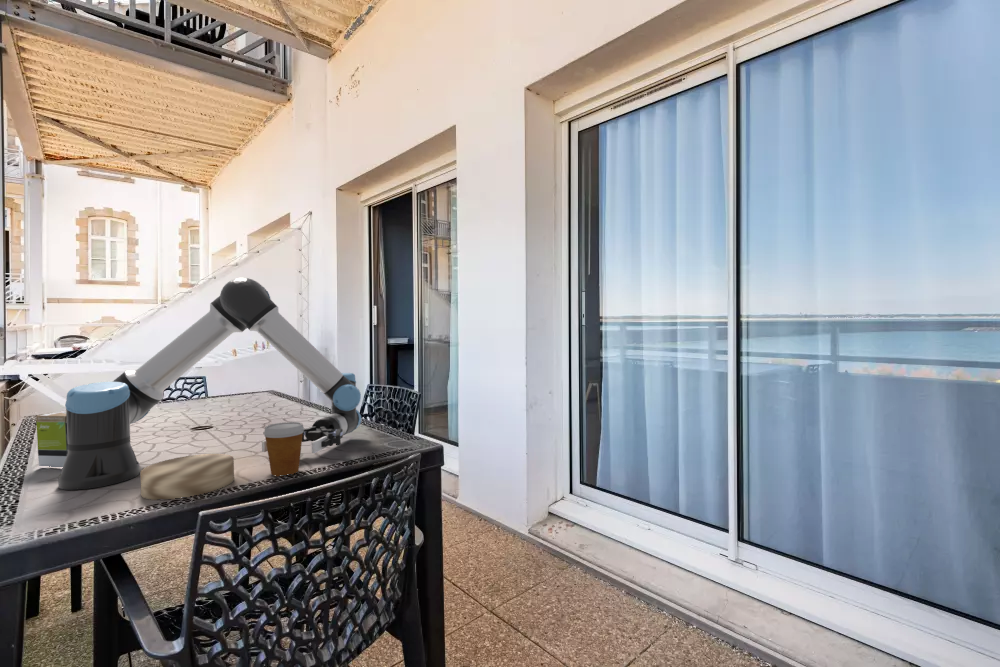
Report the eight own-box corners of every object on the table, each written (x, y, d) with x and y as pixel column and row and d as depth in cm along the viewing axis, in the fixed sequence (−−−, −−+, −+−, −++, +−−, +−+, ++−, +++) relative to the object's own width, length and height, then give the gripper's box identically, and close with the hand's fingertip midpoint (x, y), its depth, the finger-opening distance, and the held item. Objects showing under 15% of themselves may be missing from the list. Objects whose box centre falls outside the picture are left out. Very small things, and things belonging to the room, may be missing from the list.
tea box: (94, 453, 138) (93, 404, 138) (123, 454, 136) (121, 405, 136) (36, 469, 123) (34, 414, 123) (67, 470, 121) (65, 414, 121)
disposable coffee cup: (295, 478, 111) (294, 429, 111) (256, 479, 111) (255, 429, 111) (311, 466, 121) (310, 421, 121) (276, 467, 121) (275, 421, 121)
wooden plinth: (119, 498, 100) (118, 475, 100) (186, 472, 118) (185, 453, 118) (194, 501, 97) (193, 477, 97) (250, 474, 115) (250, 454, 115)
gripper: (369, 441, 136) (334, 462, 115) (290, 440, 139) (243, 460, 118) (368, 416, 136) (334, 433, 115) (290, 416, 139) (242, 431, 118)
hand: (287, 447), depth 117 cm, fingers open, 13 cm apart
